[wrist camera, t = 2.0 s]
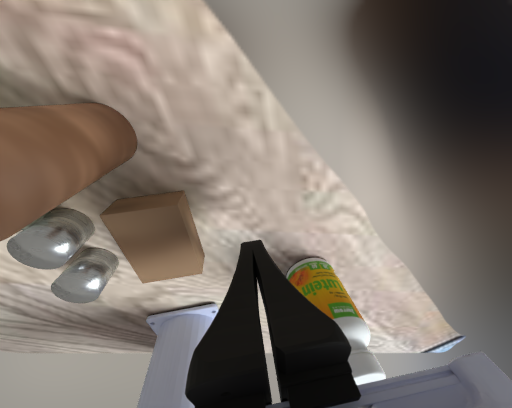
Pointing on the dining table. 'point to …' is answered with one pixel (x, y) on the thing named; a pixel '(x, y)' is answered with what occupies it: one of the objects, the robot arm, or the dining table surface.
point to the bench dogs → (65, 254)
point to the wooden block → (156, 235)
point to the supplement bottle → (338, 313)
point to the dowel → (55, 156)
